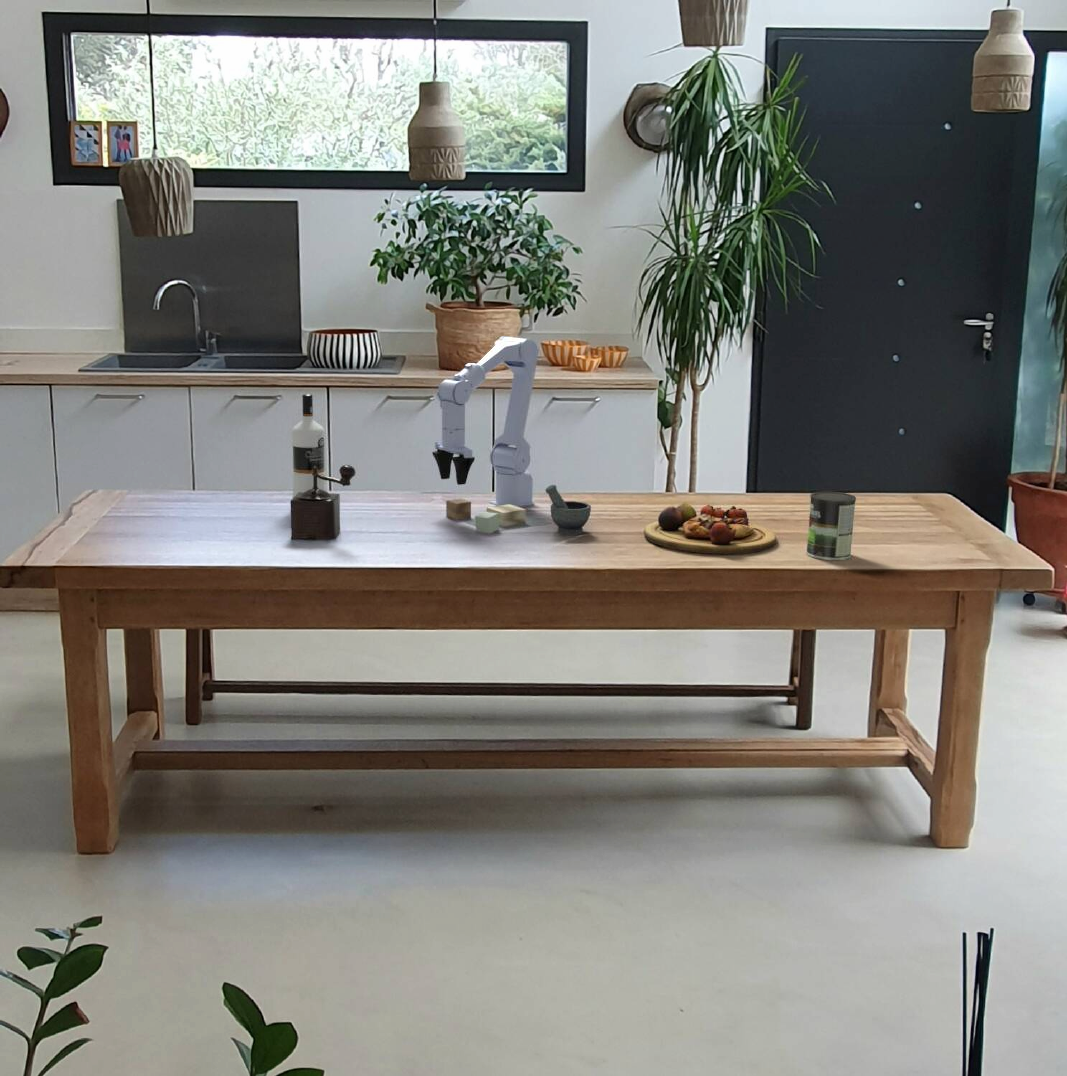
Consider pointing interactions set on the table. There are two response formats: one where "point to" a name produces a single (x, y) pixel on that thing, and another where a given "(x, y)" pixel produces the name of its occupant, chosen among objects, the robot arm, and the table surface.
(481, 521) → the sage block
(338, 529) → the manual coffee grinder
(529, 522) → the slate mat
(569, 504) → the mortar and pestle
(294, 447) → the vodka
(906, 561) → the table surface
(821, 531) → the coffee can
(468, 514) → the walnut cube
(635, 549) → the table surface
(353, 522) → the table surface
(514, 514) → the beech block
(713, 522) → the wooden plate with food
